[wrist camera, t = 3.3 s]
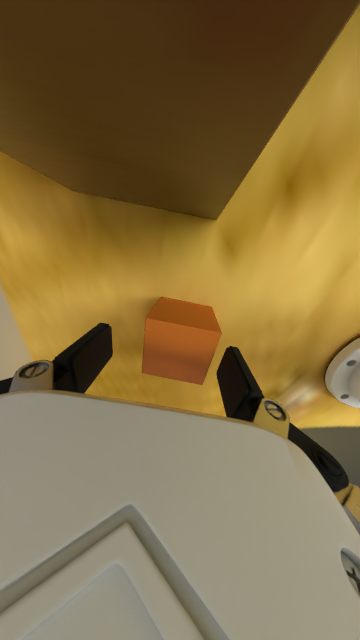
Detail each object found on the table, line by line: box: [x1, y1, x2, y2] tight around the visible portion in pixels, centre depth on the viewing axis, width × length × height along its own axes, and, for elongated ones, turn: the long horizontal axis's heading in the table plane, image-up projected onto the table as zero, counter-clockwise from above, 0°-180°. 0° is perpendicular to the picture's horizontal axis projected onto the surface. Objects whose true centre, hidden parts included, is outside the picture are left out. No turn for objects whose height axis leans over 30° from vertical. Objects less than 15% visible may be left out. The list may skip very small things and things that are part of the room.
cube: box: [142, 297, 222, 385], centre depth 13 cm, size 5×5×5 cm
